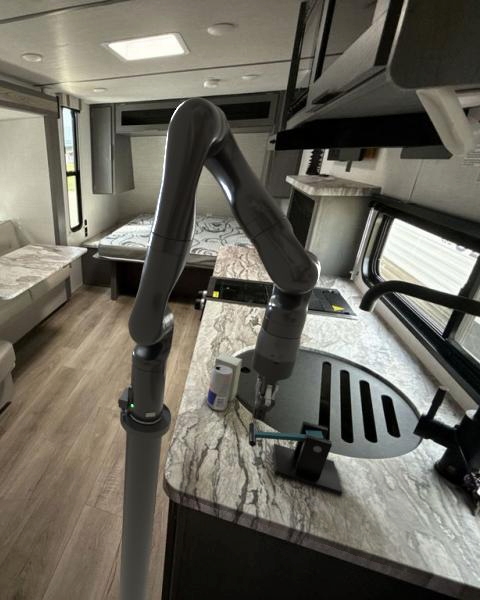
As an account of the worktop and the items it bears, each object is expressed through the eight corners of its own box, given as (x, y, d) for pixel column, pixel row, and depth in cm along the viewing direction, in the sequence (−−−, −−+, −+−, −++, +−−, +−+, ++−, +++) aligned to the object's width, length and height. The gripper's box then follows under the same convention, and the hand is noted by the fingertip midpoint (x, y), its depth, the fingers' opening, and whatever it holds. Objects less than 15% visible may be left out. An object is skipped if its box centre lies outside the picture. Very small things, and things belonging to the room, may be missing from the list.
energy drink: (209, 396, 90) (214, 361, 86) (228, 402, 88) (235, 366, 83) (204, 406, 86) (210, 370, 82) (224, 413, 84) (231, 377, 79)
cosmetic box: (236, 394, 91) (243, 359, 86) (231, 402, 88) (238, 366, 83) (215, 385, 95) (221, 351, 90) (209, 392, 92) (215, 357, 87)
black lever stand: (275, 474, 66) (286, 436, 62) (273, 447, 73) (283, 411, 69) (340, 496, 62) (357, 456, 58) (332, 465, 69) (346, 427, 65)
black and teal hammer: (249, 447, 68) (248, 439, 67) (249, 429, 73) (248, 420, 72) (326, 455, 62) (325, 445, 61) (320, 433, 67) (319, 424, 66)
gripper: (255, 332, 68) (240, 395, 75) (255, 362, 57) (238, 433, 64) (293, 339, 66) (274, 404, 72) (301, 372, 54) (278, 445, 61)
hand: (257, 417), depth 68 cm, fingers closed
